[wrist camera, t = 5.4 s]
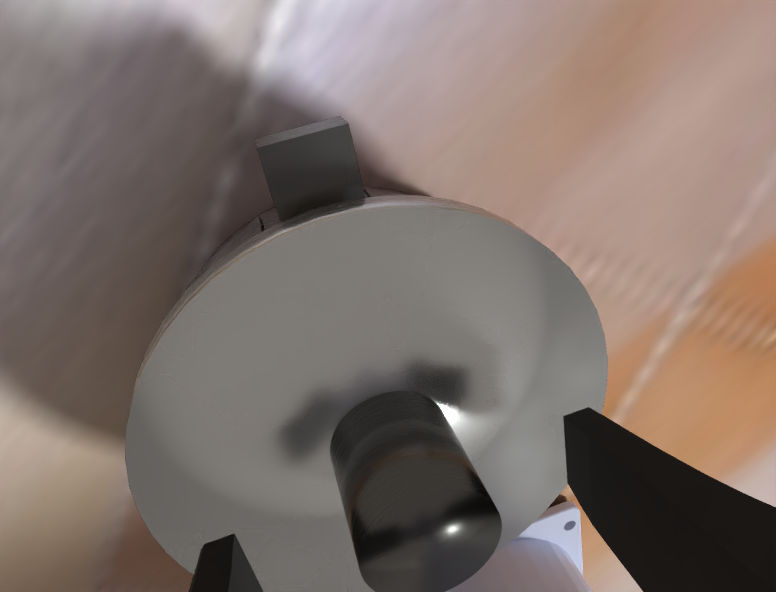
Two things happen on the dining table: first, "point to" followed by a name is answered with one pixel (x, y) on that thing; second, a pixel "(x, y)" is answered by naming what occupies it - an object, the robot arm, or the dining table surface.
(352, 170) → the pot
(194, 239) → the dining table surface
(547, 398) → the lid
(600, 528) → the robot arm
